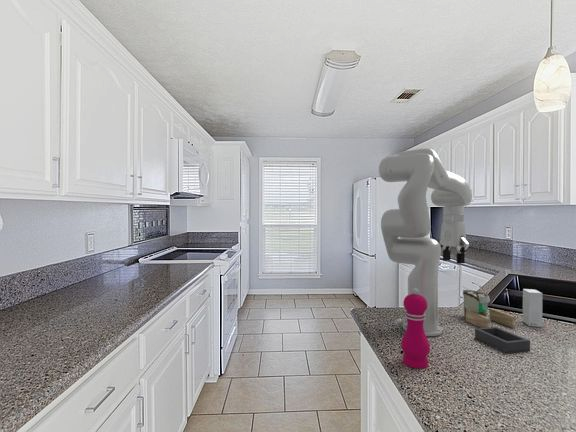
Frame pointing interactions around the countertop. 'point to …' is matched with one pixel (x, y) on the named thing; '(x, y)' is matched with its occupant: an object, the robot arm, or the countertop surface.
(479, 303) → the food container
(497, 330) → the tray
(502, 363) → the countertop surface
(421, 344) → the pepper mill
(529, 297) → the skincare box
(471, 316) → the wooden channel
